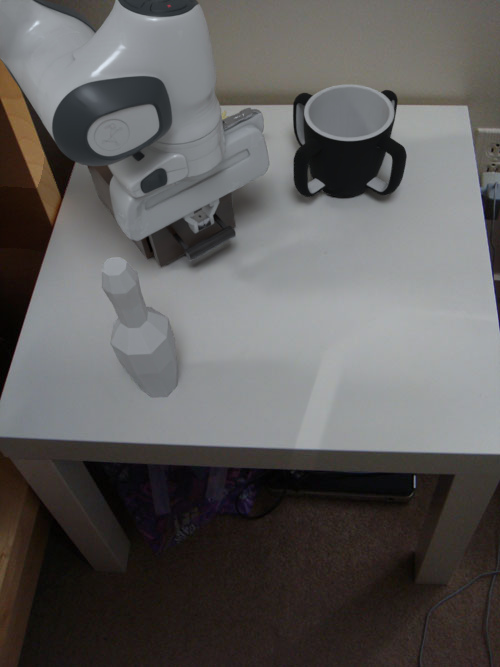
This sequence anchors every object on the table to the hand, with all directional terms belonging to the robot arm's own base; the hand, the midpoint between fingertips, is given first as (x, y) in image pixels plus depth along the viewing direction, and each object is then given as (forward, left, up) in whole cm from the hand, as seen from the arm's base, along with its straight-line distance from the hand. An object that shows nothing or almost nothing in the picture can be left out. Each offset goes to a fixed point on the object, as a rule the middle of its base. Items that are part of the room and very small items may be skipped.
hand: (201, 225), depth 78 cm
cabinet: (0, +13, -7) cm, 15 cm away
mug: (+25, +1, -7) cm, 26 cm away
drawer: (0, +7, -6) cm, 9 cm away
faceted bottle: (-15, -13, -7) cm, 21 cm away
